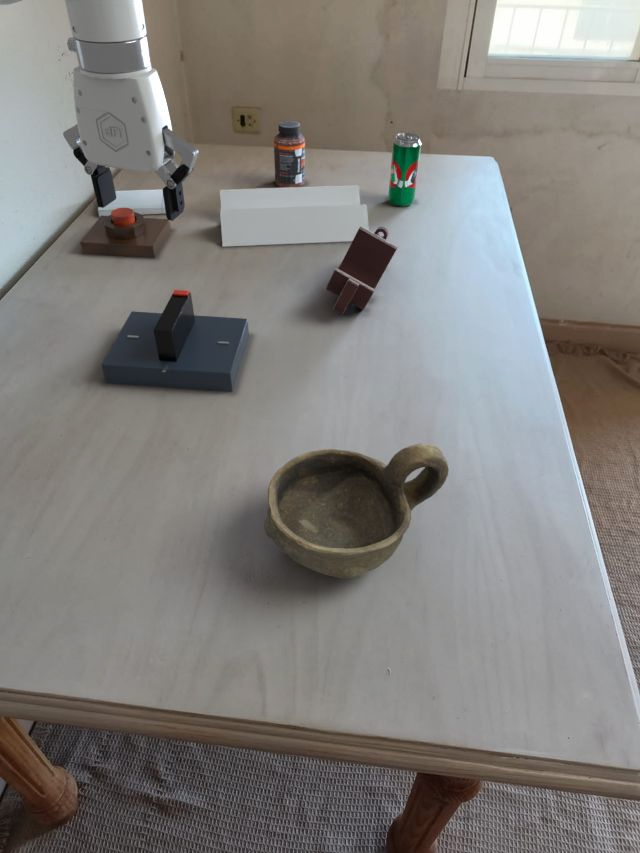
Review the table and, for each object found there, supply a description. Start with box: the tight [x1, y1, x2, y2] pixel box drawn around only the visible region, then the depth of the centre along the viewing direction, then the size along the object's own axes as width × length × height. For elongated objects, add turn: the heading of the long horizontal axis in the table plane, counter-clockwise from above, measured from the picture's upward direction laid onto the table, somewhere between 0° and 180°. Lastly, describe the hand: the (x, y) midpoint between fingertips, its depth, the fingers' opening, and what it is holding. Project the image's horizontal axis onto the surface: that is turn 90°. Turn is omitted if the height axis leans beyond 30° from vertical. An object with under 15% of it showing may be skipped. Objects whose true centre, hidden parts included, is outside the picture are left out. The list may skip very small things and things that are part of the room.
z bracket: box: [219, 184, 370, 248], centre depth 109 cm, size 12×25×6 cm
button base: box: [79, 212, 172, 259], centre depth 105 cm, size 12×10×4 cm
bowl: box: [264, 442, 449, 580], centre depth 59 cm, size 14×18×10 cm
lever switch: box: [100, 311, 250, 393], centre depth 81 cm, size 16×13×3 cm
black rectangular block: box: [154, 289, 195, 362], centre depth 79 cm, size 9×2×5 cm, turn 174°
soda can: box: [387, 132, 422, 208], centre depth 115 cm, size 5×5×12 cm
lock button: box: [111, 208, 135, 226], centre depth 103 cm, size 4×4×2 cm
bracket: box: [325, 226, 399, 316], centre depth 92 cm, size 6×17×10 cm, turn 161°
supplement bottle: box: [273, 120, 306, 188], centre depth 121 cm, size 6×6×11 cm
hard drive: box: [97, 189, 166, 218], centre depth 116 cm, size 2×8×12 cm
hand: (141, 209), depth 79 cm, fingers open, 9 cm apart
